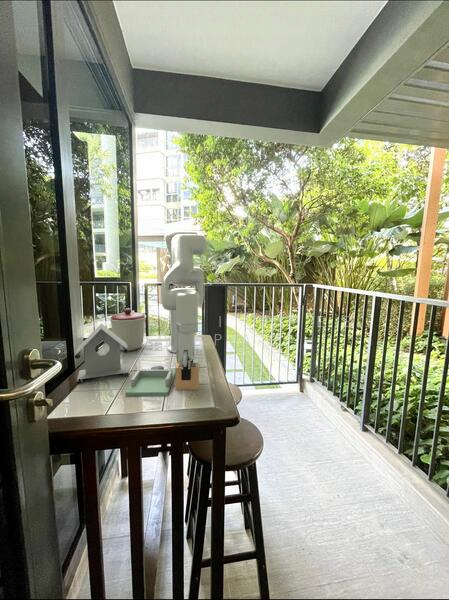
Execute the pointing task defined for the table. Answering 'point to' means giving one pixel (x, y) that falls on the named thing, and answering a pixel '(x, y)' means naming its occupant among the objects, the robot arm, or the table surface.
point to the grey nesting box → (102, 363)
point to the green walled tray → (151, 382)
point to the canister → (129, 328)
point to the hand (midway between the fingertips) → (187, 374)
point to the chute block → (187, 383)
